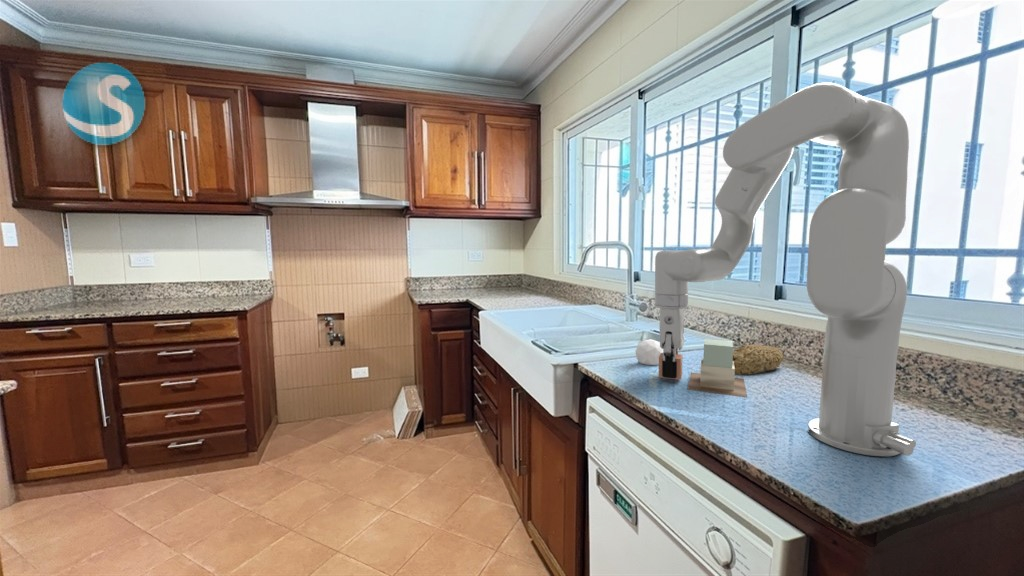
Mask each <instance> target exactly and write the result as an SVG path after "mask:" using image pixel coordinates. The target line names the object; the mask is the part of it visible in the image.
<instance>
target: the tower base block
mask: <svg viewBox="0 0 1024 576" xmlns="http://www.w3.org/2000/svg"><path fill="white" fill-rule="evenodd" d="M703 358H704V357H701V362H700V386H703V387H710V388H718V389H726V390H733V391H734V378H736V376H735V375H736V374H735V367H734V361H733V363H732V368H725V367H716V366H707V365H703Z"/></svg>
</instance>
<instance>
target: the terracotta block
mask: <svg viewBox="0 0 1024 576" xmlns="http://www.w3.org/2000/svg"><path fill="white" fill-rule="evenodd" d="M662 360H663V353H661V354H660V356H659V364H658V378H662V379H668V378H667V377H663V376H662ZM676 362H677V377H676V378H669V379H672V380H680V381H681V380H682V377H683V354H681V353H678V354H676Z"/></svg>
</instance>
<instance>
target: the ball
mask: <svg viewBox="0 0 1024 576" xmlns="http://www.w3.org/2000/svg"><path fill="white" fill-rule="evenodd" d="M634 352H635V357H636V359H637V360H638V362H639V363H640V364H642V365H646V366H659V356H660V354H661V353H663V349H662V348H661V347H660V341H658V340H654V339H645V340H642V341H640V342H639V343H638V344H637V347H636V349H635V351H634Z"/></svg>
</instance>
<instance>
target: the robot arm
mask: <svg viewBox="0 0 1024 576" xmlns="http://www.w3.org/2000/svg"><path fill="white" fill-rule="evenodd" d="M809 141H811V142H815V143H818V144H819V143H820V144H822V145H828V146H834V147H838V148H840V149H841V151H842V156H841V160H840V162H839V166H838V185H837V191H835V192H833V193H831V194H829V195H828V196H826V197H825V198H824V199H823V200H822V201H821V202H820V203H819V204H818V205H817V207H816V208H815V210H814V212H813V215H812V217H811V221H810V224H809V232H808V233H809V235H808V252H807V269H806V270H807V271H806V290H807V291H806V292H807V295H808V299H809V300H810V302H811V304H812V305H813V306H814V307H815V309H816V310H818V311H819V312H820V313H822V314H823V315H824V316H827V321H826V326H825V332H824V333H825V334H824V342H823V343H824V344H823V357H822V367H821V368H822V369H821V385H820V386H821V387H820V399H819V413H818V414H819V415H818V418H814V419H812V420H809V422H808V423H807V427H808V429H807V431H808V433H809V434H810V435H811V436H813V438H815V439H817V440H818V441H820V442H822V443H824V444H827V445H829V446H830V447H833V448H836V449H838V450H842V451H846V452H849V453H853V454H859V455H865V456H871V457H893V456H897V455H899V454H902V455H903V456H908V457H909V456H911V455H912V454H913V452H914V449H915V447H916V446H917V443H916V440H914V439H912V438H910V437H908V436H903V435H901V434H900V433H899V428H900V425H899V424H898V423H896V422H893V421H892V420H893V409H894V408H893V407H894V399H895V398H894V396H895V387H896V386H895V385H896V373H897V372H896V371H897V361H898V360H897V359H898V353H899V343H900V336H901V327H902V320H903V317H904V311H905V307H906V302H907V295H908V288H907V287H908V285H907V283H906V279H905V277H904V274H903V273H902V272H901V271H900V270H899V268H898V267H896V266H895V265H894V264H893V263H891V262H889V261H888V260H886V252H887V251H886V250H887V245H888V244H891V243H892V242H894V241H895V240H896V239H897V238H898V237H899V236H900V235H901V234H902V232H903V230H904V228H905V225H906V217H907V216H906V215H907V214H906V213H907V211H906V209H907V208H906V207H907V205H906V204H907V190H908V165H909V150H910V149H909V148H910V146H909V145H910V132H909V127H908V125H907V121H906V119H905V118H904V116H903V114H902V113H901V112H900V111H899V110H898V109H896V108H895V107H894V106H892V105H890V104H889V103H886V102H882V101H879V100H876V99H873V98H869V97H866V96H863V95H861V94H859V93H857V92H855V91H852V90H850V89H849V88H847V87H845V86H843V85H842V84H838V83H835V82H819V83H813V84H812V85H809V86H806V87H804V88H801V89H800V90H798V91H796V92H794V93H792V94H791V95H789V96H787V97H785V98H784V99H783V100H781V101H779V102H777V103H775V104H774V105H772V106H770V107H768V108H767V109H765V110H763V111H761V112H760V113H757V114H756V115H755V116H753V117H751V118H750V119H748V120H747V121H745V122H743V123H742V124H740V125H739V126H738V127H737V128H735V129H734V130H733V131H732V132H731V133H730V134H729V136H728V138H727V139H726V140H725V143H724V145H723V149H722V158H723V160H724V162H725V164H726V165H727V166H728V167H730V168H731V170H730V171H729V173H728V175H727V177H726V179H725V181H724V182H723V184H722V185H721V188H720V189H719V192H718V193H717V195H716V196H715V199H714V203H715V204H714V205H715V207H716V209H718V211H719V213H720V216H721V226H720V230H719V232H718V234H717V236H716V238H715V240H714V241H713V243H712V245H710V246H711V247H710V248H704V247H703V248H692V249H690V248H689V249H686V250H679V249H677V250H676V249H675V250H660V251H657V253H656V254H655V256H654V257H655V258H654V259H655V260H654V307H655V308H658V309H659V343H660V347H661V348H662V349H663V360H662V376H663V377H667V378H666V379H670V378H676V377H677V362H676V354H679V351H681V350H682V349H683V348H684V344H685V314H684V313H685V312H684V309H688V307H689V283H704V282H712V281H721V280H722V279H725V278H727V277H728V276H729V275H731V273H732V272H733V271H734V270H735V269H736V267H737V265H738V264H739V263H740V261H741V260H742V258H743V257H744V255H745V253H746V251H747V250H748V248H749V246H750V243H751V241H752V240H751V239H752V236H753V231H754V228H755V219H756V216H757V214H758V212H759V211H760V209H761V207H762V206H763V204H764V202H765V200H767V198H768V195H769V194H770V193H771V191H772V190H773V188H774V186H775V185H776V183H777V181H778V180H779V178H780V177H781V175H782V173H783V171H784V170H785V168H786V167H787V165H788V164H789V162H790V160H791V159H792V156H793V153H794V149H795V148H796V147H798V146H800V145H802V144H805V143H806V142H809Z"/></svg>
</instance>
